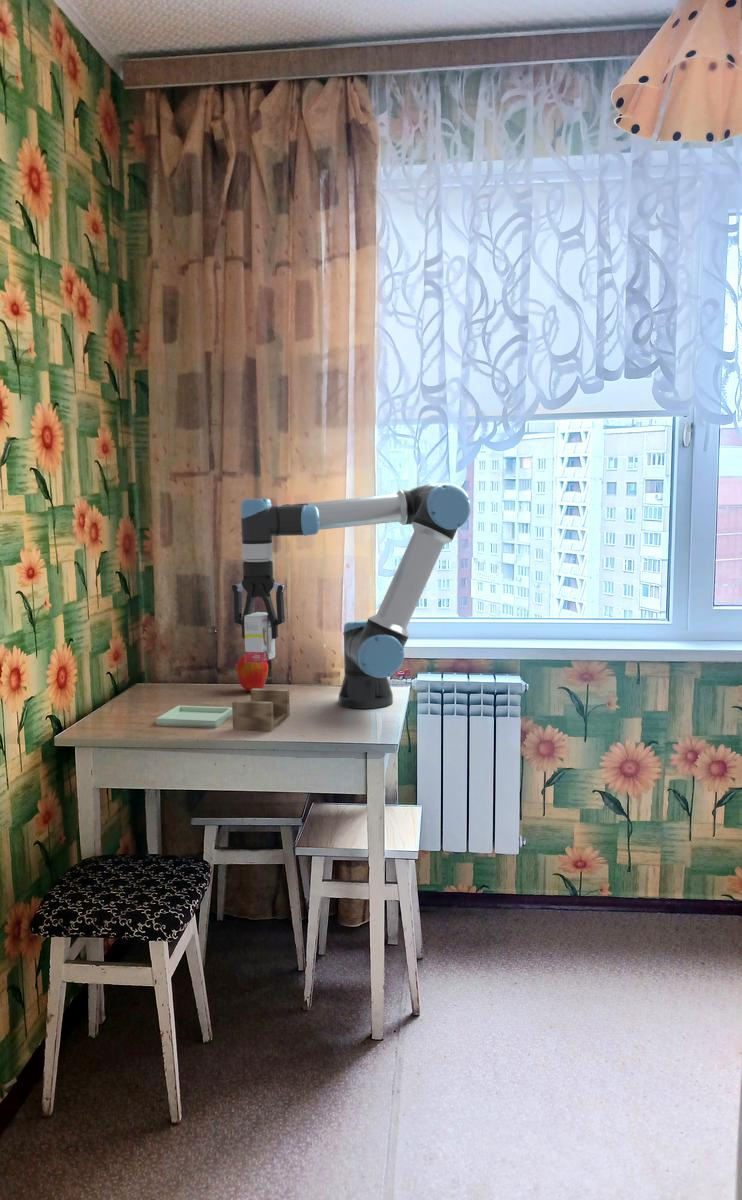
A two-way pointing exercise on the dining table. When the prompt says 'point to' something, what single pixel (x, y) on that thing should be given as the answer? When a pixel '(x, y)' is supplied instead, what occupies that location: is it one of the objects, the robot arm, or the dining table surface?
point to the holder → (261, 710)
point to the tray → (195, 716)
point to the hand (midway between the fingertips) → (260, 650)
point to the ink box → (257, 638)
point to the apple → (252, 674)
